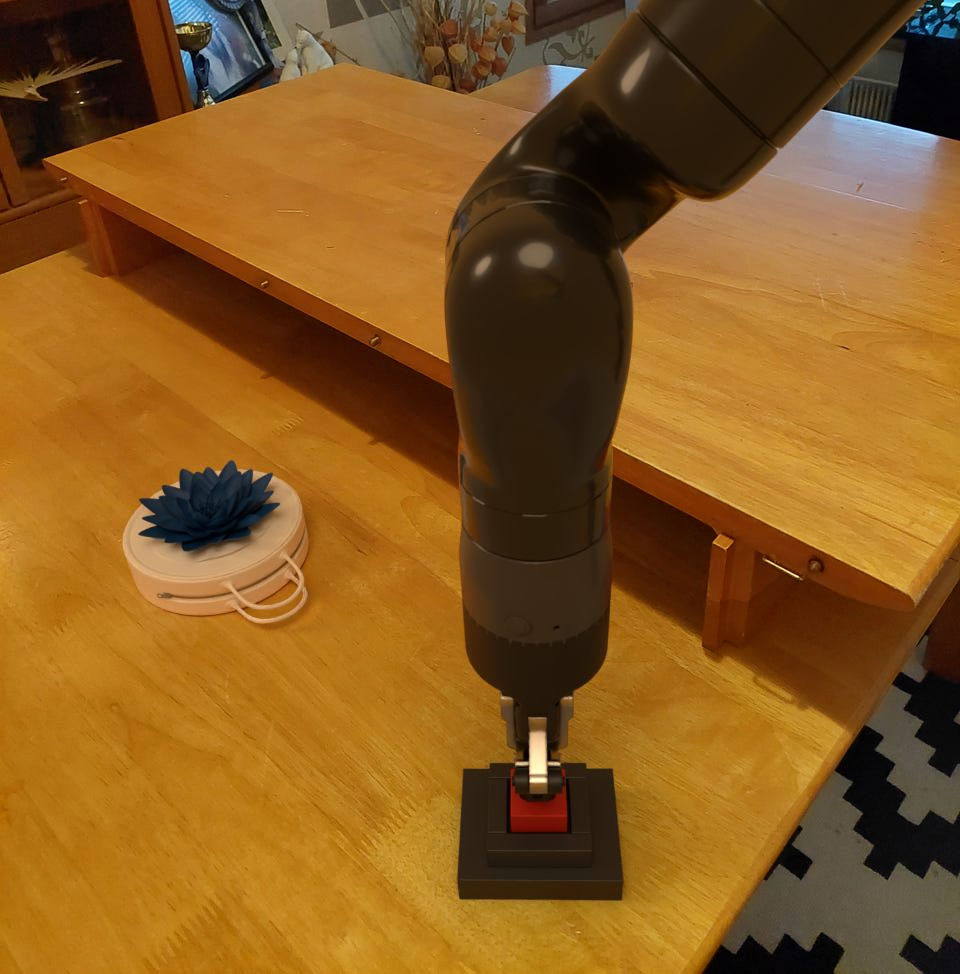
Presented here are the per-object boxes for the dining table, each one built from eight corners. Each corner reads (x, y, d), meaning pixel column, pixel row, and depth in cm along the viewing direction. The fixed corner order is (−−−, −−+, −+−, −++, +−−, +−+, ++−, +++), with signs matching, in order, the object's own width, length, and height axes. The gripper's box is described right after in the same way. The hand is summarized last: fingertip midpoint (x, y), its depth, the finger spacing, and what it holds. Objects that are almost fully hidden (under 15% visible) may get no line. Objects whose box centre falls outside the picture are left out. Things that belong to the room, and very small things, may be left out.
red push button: (611, 787, 63) (613, 751, 61) (622, 900, 57) (625, 864, 54) (465, 787, 64) (461, 751, 61) (459, 899, 57) (455, 864, 55)
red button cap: (564, 785, 59) (564, 768, 58) (566, 833, 56) (567, 816, 55) (511, 785, 59) (510, 768, 58) (511, 832, 57) (510, 816, 56)
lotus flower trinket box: (85, 493, 81) (183, 614, 68) (244, 425, 89) (359, 523, 76) (107, 552, 85) (204, 676, 73) (257, 483, 93) (369, 584, 80)
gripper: (623, 685, 41) (607, 893, 51) (601, 500, 51) (591, 704, 62) (453, 686, 41) (472, 892, 52) (466, 502, 52) (479, 704, 62)
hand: (537, 789), depth 57 cm, fingers closed
